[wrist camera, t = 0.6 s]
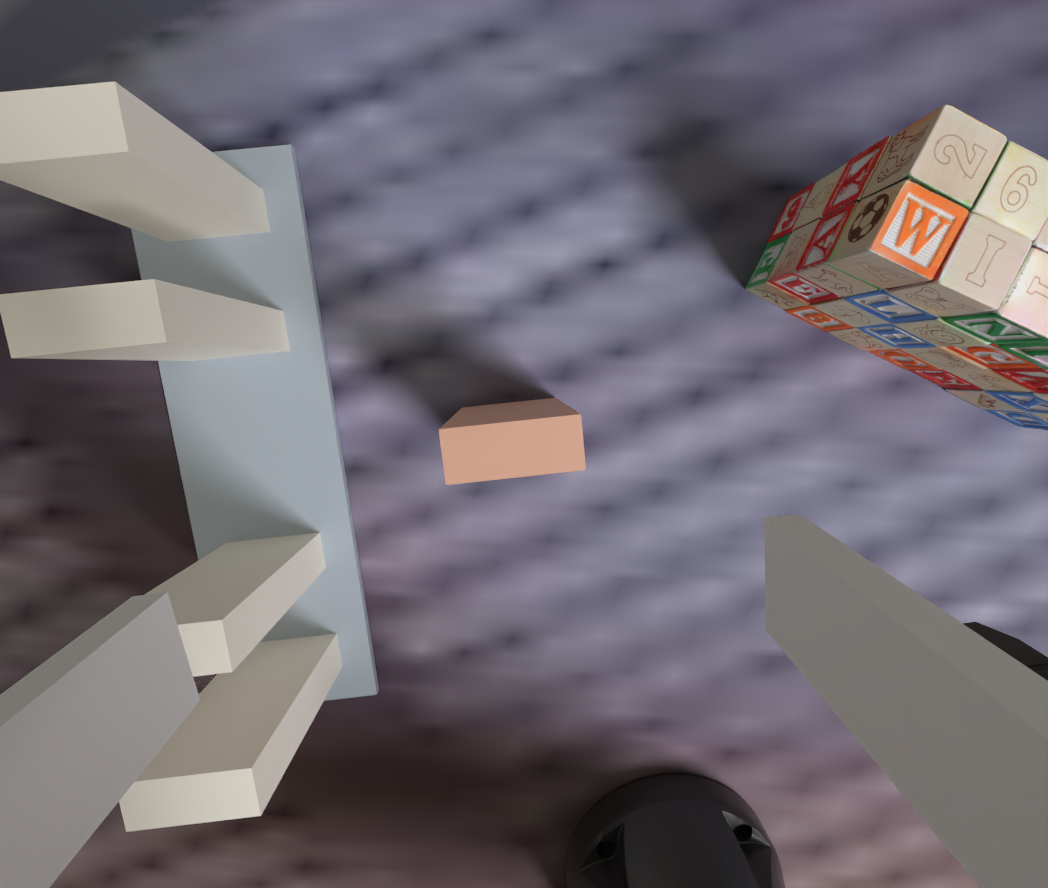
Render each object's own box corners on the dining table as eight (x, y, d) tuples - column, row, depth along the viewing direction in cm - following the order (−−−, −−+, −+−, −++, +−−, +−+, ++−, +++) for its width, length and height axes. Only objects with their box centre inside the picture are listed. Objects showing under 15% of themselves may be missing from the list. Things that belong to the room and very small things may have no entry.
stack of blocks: (1068, 342, 35) (1368, 329, 23) (1018, 428, 36) (1282, 460, 24) (786, 195, 33) (950, 96, 21) (739, 290, 34) (871, 247, 22)
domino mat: (379, 689, 37) (376, 694, 36) (233, 706, 37) (228, 711, 36) (294, 148, 32) (290, 144, 31) (124, 164, 31) (117, 161, 31)
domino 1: (289, 351, 33) (166, 342, 21) (191, 361, 33) (11, 358, 21) (283, 311, 32) (154, 278, 20) (183, 321, 32) (-4, 294, 20)
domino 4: (558, 434, 35) (586, 469, 23) (466, 444, 35) (445, 484, 23) (555, 397, 34) (581, 414, 22) (462, 407, 34) (438, 429, 22)
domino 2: (325, 567, 35) (232, 672, 23) (233, 577, 35) (91, 688, 23) (319, 532, 34) (221, 620, 23) (226, 542, 34) (78, 636, 22)
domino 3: (342, 666, 36) (261, 815, 24) (252, 677, 36) (126, 831, 24) (336, 633, 35) (251, 768, 24) (246, 643, 35) (114, 783, 23)
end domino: (270, 232, 32) (128, 151, 20) (168, 242, 32) (-35, 167, 20) (263, 189, 31) (115, 81, 19) (160, 199, 31) (-52, 97, 19)
